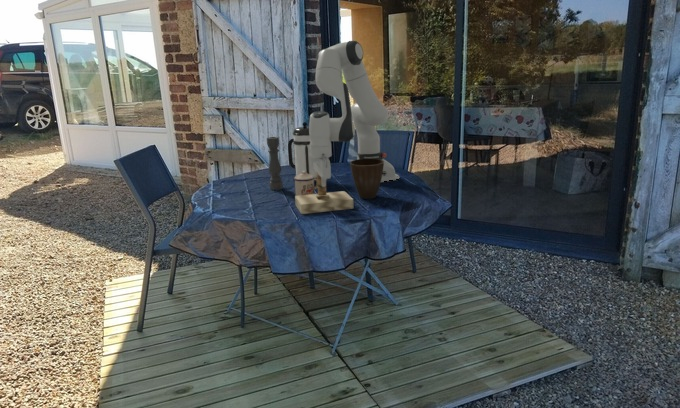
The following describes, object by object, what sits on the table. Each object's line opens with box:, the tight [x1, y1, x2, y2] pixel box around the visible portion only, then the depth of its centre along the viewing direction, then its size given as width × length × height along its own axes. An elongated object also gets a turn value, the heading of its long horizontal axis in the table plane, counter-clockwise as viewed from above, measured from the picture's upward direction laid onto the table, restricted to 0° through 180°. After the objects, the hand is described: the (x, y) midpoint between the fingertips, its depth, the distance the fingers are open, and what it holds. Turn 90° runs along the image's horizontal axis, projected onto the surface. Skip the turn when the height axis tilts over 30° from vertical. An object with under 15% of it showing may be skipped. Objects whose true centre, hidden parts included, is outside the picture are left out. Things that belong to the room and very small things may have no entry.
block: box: [294, 190, 354, 215], centre depth 206 cm, size 22×14×4 cm, turn 105°
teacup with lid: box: [293, 171, 318, 196], centre depth 223 cm, size 12×9×12 cm
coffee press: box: [287, 121, 317, 182], centre depth 251 cm, size 17×16×30 cm
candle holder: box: [266, 136, 284, 191], centre depth 236 cm, size 6×6×25 cm
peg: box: [316, 172, 328, 195], centre depth 204 cm, size 4×4×10 cm
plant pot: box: [349, 159, 384, 200], centre depth 217 cm, size 15×15×16 cm
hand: (322, 184), depth 204 cm, fingers closed on peg, 4 cm apart
